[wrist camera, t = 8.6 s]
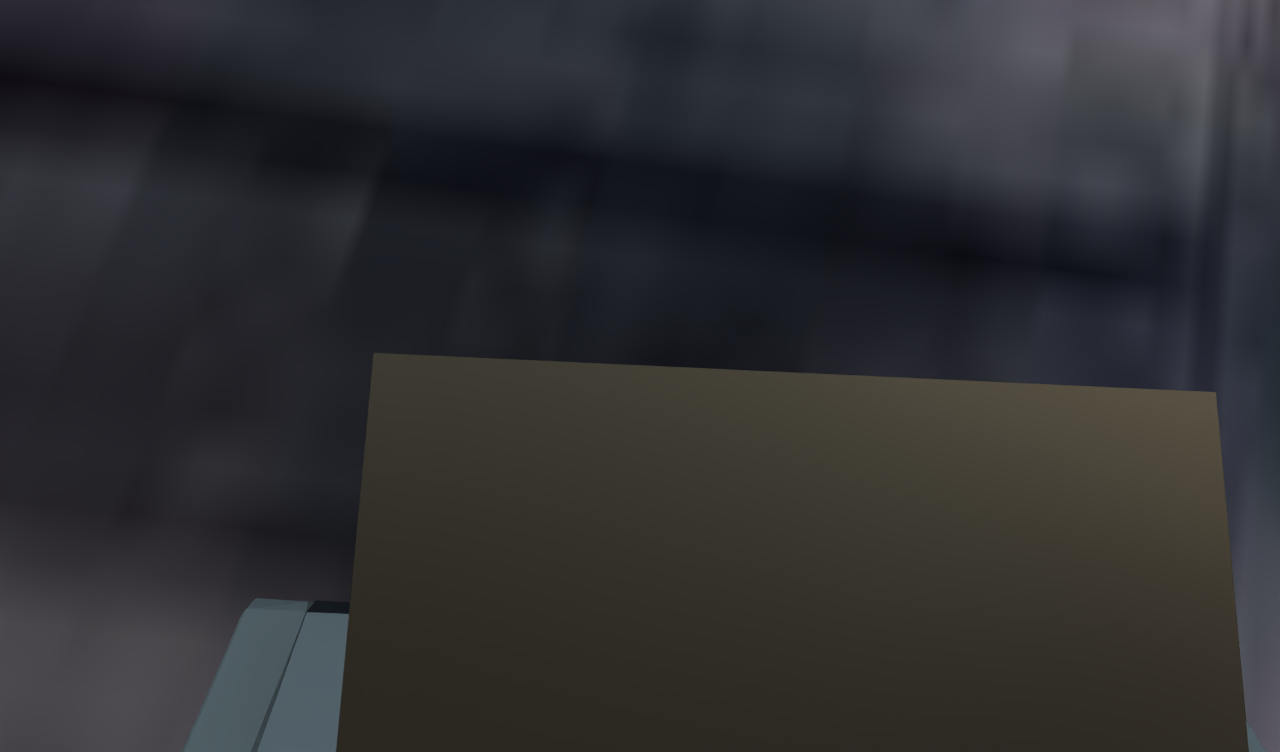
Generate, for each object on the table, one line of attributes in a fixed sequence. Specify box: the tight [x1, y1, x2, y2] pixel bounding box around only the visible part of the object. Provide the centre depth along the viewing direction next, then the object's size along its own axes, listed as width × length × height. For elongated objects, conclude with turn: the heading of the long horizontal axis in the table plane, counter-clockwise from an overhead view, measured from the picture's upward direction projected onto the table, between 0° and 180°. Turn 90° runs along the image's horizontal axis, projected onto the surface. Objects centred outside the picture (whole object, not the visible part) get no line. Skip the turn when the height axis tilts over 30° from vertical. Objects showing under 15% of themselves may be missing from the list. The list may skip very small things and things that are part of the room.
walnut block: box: [336, 353, 1249, 752], centre depth 9 cm, size 5×5×8 cm
